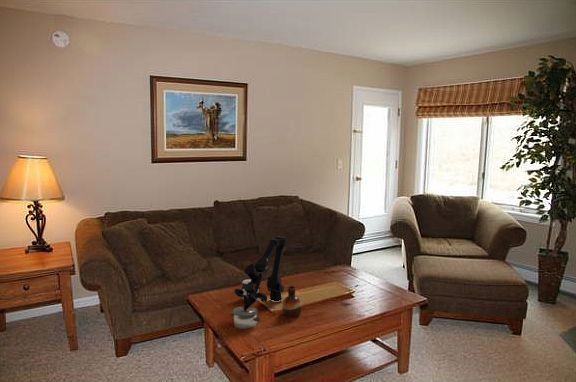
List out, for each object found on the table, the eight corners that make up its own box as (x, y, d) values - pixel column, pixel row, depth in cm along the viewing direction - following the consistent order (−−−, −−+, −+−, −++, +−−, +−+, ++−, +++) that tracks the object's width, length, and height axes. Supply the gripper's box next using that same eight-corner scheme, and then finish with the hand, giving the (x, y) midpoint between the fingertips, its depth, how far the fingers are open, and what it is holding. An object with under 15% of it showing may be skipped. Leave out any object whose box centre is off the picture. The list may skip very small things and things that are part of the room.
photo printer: (260, 298, 242) (259, 279, 240) (257, 301, 237) (256, 281, 236) (244, 297, 245) (243, 278, 243) (241, 299, 241) (240, 280, 239)
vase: (295, 320, 211) (294, 292, 209) (278, 315, 217) (277, 289, 215) (305, 312, 221) (305, 285, 219) (289, 308, 226) (288, 282, 224)
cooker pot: (238, 315, 219) (238, 307, 218) (265, 321, 210) (265, 313, 210) (225, 324, 208) (225, 316, 208) (252, 331, 200) (252, 323, 199)
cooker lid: (242, 307, 218) (242, 303, 218) (262, 311, 211) (262, 307, 211) (227, 313, 206) (228, 308, 206) (248, 317, 200) (248, 313, 200)
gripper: (234, 274, 215) (223, 300, 207) (263, 279, 206) (252, 307, 198) (243, 283, 223) (233, 309, 215) (272, 288, 214) (261, 315, 206)
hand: (244, 310), depth 208 cm, fingers closed, pressing on cooker lid
